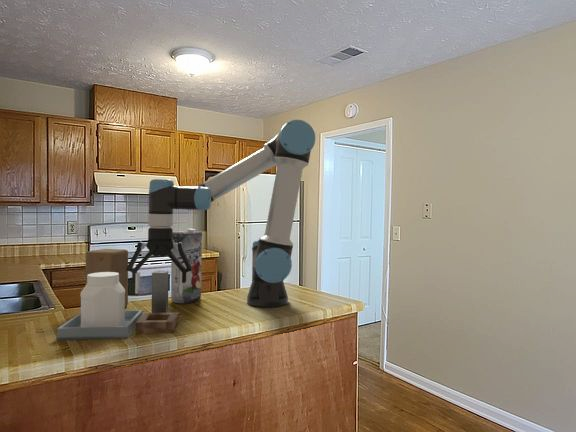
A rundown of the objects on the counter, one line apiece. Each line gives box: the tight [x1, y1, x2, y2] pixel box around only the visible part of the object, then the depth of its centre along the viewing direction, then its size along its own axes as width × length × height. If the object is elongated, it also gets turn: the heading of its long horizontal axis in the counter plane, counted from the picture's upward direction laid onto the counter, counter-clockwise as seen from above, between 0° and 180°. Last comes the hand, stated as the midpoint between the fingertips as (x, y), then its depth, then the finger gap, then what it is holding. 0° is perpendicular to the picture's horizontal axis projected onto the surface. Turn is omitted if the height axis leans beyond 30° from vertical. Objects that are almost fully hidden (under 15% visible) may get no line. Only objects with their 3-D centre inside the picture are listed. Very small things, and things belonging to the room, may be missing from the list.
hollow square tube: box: [135, 312, 179, 334], centre depth 116 cm, size 10×10×3 cm
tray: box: [56, 309, 144, 341], centre depth 114 cm, size 18×18×3 cm
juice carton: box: [170, 228, 203, 305], centre depth 149 cm, size 9×10×27 cm
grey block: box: [151, 270, 169, 313], centre depth 129 cm, size 4×4×14 cm
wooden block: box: [85, 248, 129, 307], centre depth 135 cm, size 10×10×20 cm
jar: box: [80, 272, 126, 327], centre depth 114 cm, size 12×10×15 cm
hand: (159, 293), depth 129 cm, fingers open, 13 cm apart
